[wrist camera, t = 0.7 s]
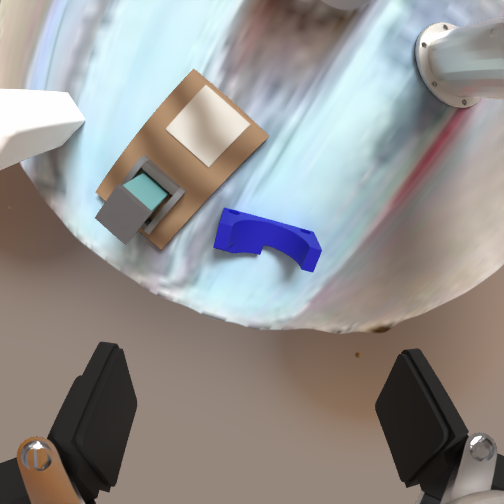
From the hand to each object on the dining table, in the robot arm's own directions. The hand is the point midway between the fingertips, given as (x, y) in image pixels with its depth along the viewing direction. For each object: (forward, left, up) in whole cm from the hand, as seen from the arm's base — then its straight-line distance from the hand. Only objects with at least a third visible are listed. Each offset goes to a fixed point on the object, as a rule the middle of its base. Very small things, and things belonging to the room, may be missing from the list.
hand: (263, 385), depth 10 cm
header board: (+5, -9, -31) cm, 33 cm away
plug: (+10, -9, -29) cm, 32 cm away
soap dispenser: (+11, -26, -31) cm, 42 cm away
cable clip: (+5, +6, -31) cm, 32 cm away
